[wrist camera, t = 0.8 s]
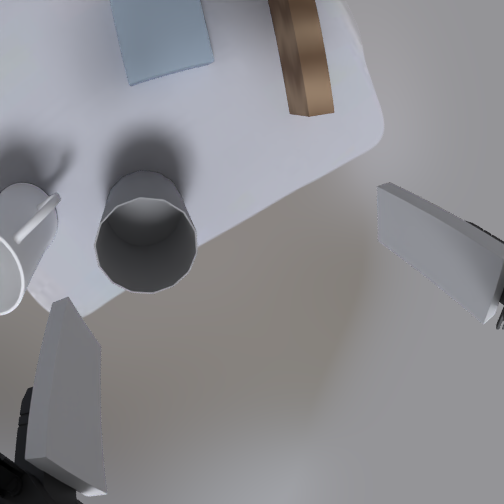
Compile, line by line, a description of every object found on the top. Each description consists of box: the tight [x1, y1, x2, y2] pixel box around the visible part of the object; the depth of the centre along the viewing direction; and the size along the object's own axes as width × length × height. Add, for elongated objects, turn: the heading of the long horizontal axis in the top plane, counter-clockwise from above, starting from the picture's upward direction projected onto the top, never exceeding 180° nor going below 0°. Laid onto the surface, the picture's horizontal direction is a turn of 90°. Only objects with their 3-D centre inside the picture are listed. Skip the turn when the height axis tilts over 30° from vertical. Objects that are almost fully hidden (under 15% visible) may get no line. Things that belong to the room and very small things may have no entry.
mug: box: [0, 183, 61, 315], centre depth 23 cm, size 12×8×12 cm
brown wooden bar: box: [268, 0, 334, 117], centre depth 25 cm, size 24×3×4 cm, turn 10°
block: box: [110, 0, 214, 86], centre depth 24 cm, size 10×8×4 cm
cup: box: [94, 170, 198, 294], centre depth 28 cm, size 8×8×10 cm
